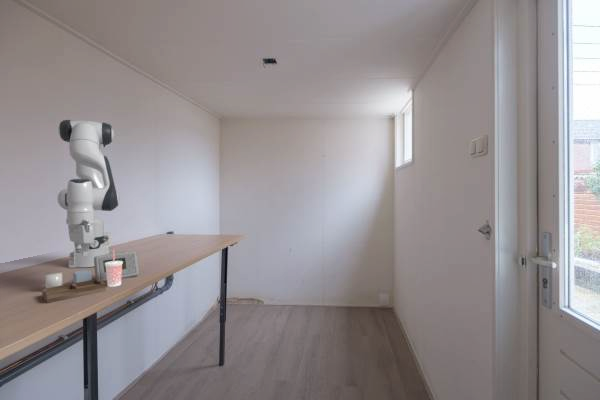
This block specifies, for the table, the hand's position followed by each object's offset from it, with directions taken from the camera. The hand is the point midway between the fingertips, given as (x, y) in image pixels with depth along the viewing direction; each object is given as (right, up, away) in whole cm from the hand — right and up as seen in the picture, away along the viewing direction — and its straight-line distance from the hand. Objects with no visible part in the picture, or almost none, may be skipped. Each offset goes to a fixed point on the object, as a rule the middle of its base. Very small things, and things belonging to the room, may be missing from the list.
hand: (81, 254), depth 122 cm
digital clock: (+9, -12, +8) cm, 17 cm away
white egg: (-6, -12, -6) cm, 15 cm away
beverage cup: (+13, -12, -1) cm, 18 cm away
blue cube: (0, -12, +1) cm, 12 cm away
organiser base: (+5, -12, -11) cm, 17 cm away
